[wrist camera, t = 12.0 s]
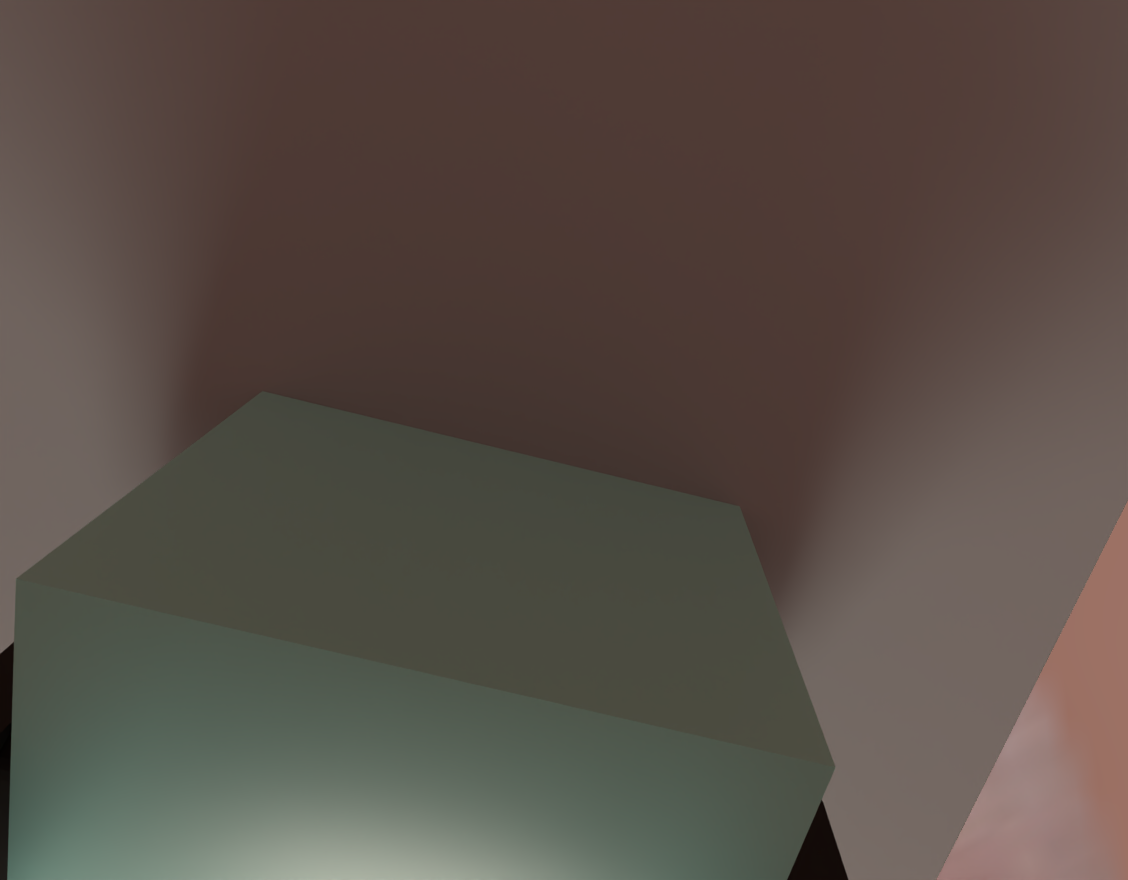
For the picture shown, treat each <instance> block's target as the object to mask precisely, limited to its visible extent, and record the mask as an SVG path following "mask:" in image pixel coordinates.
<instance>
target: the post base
mask: <svg viewBox="0 0 1128 880" xmlns="http://www.w3.org/2000/svg"><path fill="white" fill-rule="evenodd" d="M262 391H264V392H268V393H273V394H277V395H281V396H285V397H289V398H293V399H297V400H302V401H306V402H310V403H314V404H318V405H322V406H326V407H331V408H335V409H339V410H343V411H347V412H351V413H355V414H360V415H364V416H368V417H372V418H376V419H380V420H384V421H388V422H393V423H397V424H401V425H405V426H409V427H413V428H417V429H422V430H426V431H430V432H434V433H438V434H442V435H446V436H451V437H455V438H459V439H463V440H467V441H471V442H475V443H480V444H484V445H488V446H492V447H496V448H500V449H504V450H508V451H513V452H517V453H521V454H525V455H529V456H533V457H537V458H542V459H546V460H550V461H554V462H558V463H562V464H566V465H571V466H575V467H579V468H583V469H587V470H591V471H595V472H600V473H604V474H608V475H612V476H616V477H620V478H624V479H628V480H633V481H637V482H641V483H645V484H649V485H653V486H657V487H662V488H666V489H670V490H674V491H678V492H682V493H686V494H691V495H695V496H699V497H703V498H707V499H711V500H715V501H720V502H724V503H728V504H732V505H736V506H740V508H741V511H742V514H743V517H744V519H745V522H746V525H747V527H748V530H749V533H750V536H751V538H752V541H753V544H754V547H755V549H756V552H757V555H758V557H759V560H760V563H761V566H762V568H763V571H764V574H765V576H766V579H767V582H768V585H769V587H770V590H771V593H772V596H773V598H774V601H775V604H776V606H777V609H778V612H779V615H780V617H781V620H782V623H783V625H784V628H785V631H786V634H787V636H788V639H789V642H790V644H791V647H792V650H793V653H794V655H795V658H796V661H797V664H798V666H799V669H800V672H801V674H802V677H803V680H804V683H805V685H806V688H807V691H808V693H809V696H810V699H811V702H812V704H813V707H814V710H815V713H816V715H817V718H818V721H819V723H820V726H821V729H822V732H823V734H824V737H825V740H826V742H827V745H828V748H829V751H830V753H831V756H832V759H833V762H834V764H835V767H836V768H835V770H834V772H833V775H832V777H831V779H830V782H829V784H828V786H827V789H826V791H825V793H824V795H823V798H822V801H823V803H824V806H825V809H826V812H827V815H828V818H829V821H830V825H831V828H832V831H833V834H834V837H835V840H836V843H837V846H838V849H839V852H840V855H841V858H842V861H843V864H844V867H845V870H846V874H847V877H848V880H936V879H937V877H938V875H939V873H940V871H941V869H942V867H943V865H944V863H945V861H946V859H947V857H948V856H949V854H950V852H951V850H952V848H953V846H954V844H955V842H956V840H957V838H958V836H959V834H960V832H961V830H962V828H963V826H964V824H965V822H966V820H967V818H968V816H969V814H970V812H971V810H972V808H973V806H974V804H975V802H976V800H977V798H978V796H979V794H980V792H981V790H982V788H983V786H984V784H985V782H986V780H987V778H988V776H989V774H990V772H991V770H992V768H993V766H994V764H995V762H996V760H997V758H998V756H999V754H1000V752H1001V751H1002V749H1003V747H1004V745H1005V743H1006V741H1007V739H1008V737H1009V735H1010V733H1011V731H1012V729H1013V727H1014V725H1015V723H1016V721H1017V719H1018V717H1019V715H1020V713H1021V711H1022V709H1023V707H1024V705H1025V703H1026V701H1027V699H1028V697H1029V695H1030V693H1031V691H1032V689H1033V687H1034V685H1035V683H1036V681H1037V679H1038V677H1039V675H1040V673H1041V671H1042V669H1043V667H1044V665H1045V663H1046V661H1047V659H1048V657H1049V655H1050V653H1051V651H1052V649H1053V648H1054V645H1055V643H1056V642H1057V639H1058V637H1059V636H1060V634H1061V632H1062V629H1063V628H1064V626H1065V624H1066V622H1067V620H1068V618H1069V616H1070V614H1071V612H1072V610H1073V608H1074V606H1075V604H1076V602H1077V600H1078V598H1079V596H1080V594H1081V592H1082V590H1083V588H1084V586H1085V584H1086V582H1087V580H1088V578H1089V576H1090V574H1091V572H1092V570H1093V568H1094V566H1095V564H1096V562H1097V560H1098V558H1099V556H1100V554H1101V552H1102V550H1103V548H1104V546H1105V544H1106V543H1107V541H1108V538H1109V537H1110V535H1111V533H1112V531H1113V529H1114V526H1115V525H1116V523H1117V521H1118V519H1119V517H1120V515H1121V513H1122V511H1123V509H1124V507H1125V505H1126V503H1127V501H1128V0H0V653H2V652H3V651H4V650H5V649H6V648H7V647H9V646H10V645H11V644H12V643H13V642H14V627H15V592H16V578H18V577H19V576H20V575H22V574H23V573H24V572H25V571H27V570H28V569H29V568H31V567H32V566H33V565H35V564H36V563H37V562H39V561H40V560H41V559H43V558H44V557H45V556H46V555H48V554H49V553H50V552H52V551H53V550H54V549H56V548H57V547H58V546H60V545H61V544H62V543H64V542H65V541H66V540H68V539H69V538H70V537H71V536H73V535H74V534H75V533H77V532H78V531H79V530H81V529H82V528H83V527H85V526H86V525H87V524H89V523H90V522H91V521H92V520H94V519H95V518H96V517H98V516H99V515H100V514H102V513H103V512H104V511H106V510H107V509H108V508H110V507H111V506H112V505H113V504H115V503H116V502H117V501H119V500H120V499H121V498H123V497H124V496H125V495H127V494H128V493H129V492H131V491H132V490H133V489H134V488H136V487H137V486H138V485H140V484H141V483H142V482H144V481H145V480H146V479H148V478H149V477H150V476H152V475H153V474H154V473H155V472H157V471H158V470H159V469H161V468H162V467H163V466H165V465H166V464H167V463H169V462H170V461H171V460H173V459H174V458H175V457H177V456H178V455H179V454H180V453H182V452H183V451H184V450H186V449H187V448H188V447H190V446H191V445H192V444H194V443H195V442H196V441H198V440H199V439H200V438H201V437H203V436H204V435H205V434H207V433H208V432H209V431H211V430H212V429H213V428H215V427H216V426H217V425H219V424H220V423H221V422H222V421H224V420H225V419H226V418H228V417H229V416H230V415H232V414H233V413H234V412H236V411H237V410H238V409H240V408H241V407H242V406H243V405H245V404H246V403H247V402H249V401H250V400H251V399H253V398H254V397H255V396H257V395H258V394H259V393H261V392H262Z"/></svg>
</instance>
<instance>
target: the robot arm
mask: <svg viewBox="0 0 1128 880" xmlns="http://www.w3.org/2000/svg"><path fill="white" fill-rule="evenodd" d="M13 662H14V642H13V643H12V644H11V645H10V646H9V647H7V648H6V649H5V650H4V651H3V652H2V653H0V880H7V873H8V838H9V803H10V767H11V732H12V697H13ZM787 880H848V877H847V874H846V870H845V867H844V864H843V861H842V858H841V855H840V852H839V849H838V846H837V843H836V840H835V837H834V834H833V831H832V828H831V825H830V821H829V818H828V815H827V812H826V809H825V806H824V803H823V801H822V800H821V802H820V805H819V807H818V809H817V812H816V814H815V816H814V819H813V821H812V823H811V825H810V828H809V830H808V832H807V835H806V837H805V839H804V842H803V844H802V846H801V849H800V851H799V853H798V856H797V858H796V860H795V862H794V865H793V867H792V869H791V872H790V874H789V876H788V879H787Z"/></svg>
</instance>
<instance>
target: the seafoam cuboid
mask: <svg viewBox="0 0 1128 880" xmlns="http://www.w3.org/2000/svg"><path fill="white" fill-rule="evenodd" d="M835 768H836V767H835V764H834V762H833V759H832V756H831V753H830V751H829V748H828V745H827V742H826V740H825V737H824V734H823V732H822V729H821V726H820V723H819V721H818V718H817V715H816V713H815V710H814V707H813V704H812V702H811V699H810V696H809V693H808V691H807V688H806V685H805V683H804V680H803V677H802V674H801V672H800V669H799V666H798V664H797V661H796V658H795V655H794V653H793V650H792V647H791V644H790V642H789V639H788V636H787V634H786V631H785V628H784V625H783V623H782V620H781V617H780V615H779V612H778V609H777V606H776V604H775V601H774V598H773V596H772V593H771V590H770V587H769V585H768V582H767V579H766V576H765V574H764V571H763V568H762V566H761V563H760V560H759V557H758V555H757V552H756V549H755V547H754V544H753V541H752V538H751V536H750V533H749V530H748V527H747V525H746V522H745V519H744V517H743V514H742V511H741V508H740V506H736V505H732V504H728V503H724V502H720V501H715V500H711V499H707V498H703V497H699V496H695V495H691V494H686V493H682V492H678V491H674V490H670V489H666V488H662V487H657V486H653V485H649V484H645V483H641V482H637V481H633V480H628V479H624V478H620V477H616V476H612V475H608V474H604V473H600V472H595V471H591V470H587V469H583V468H579V467H575V466H571V465H566V464H562V463H558V462H554V461H550V460H546V459H542V458H537V457H533V456H529V455H525V454H521V453H517V452H513V451H508V450H504V449H500V448H496V447H492V446H488V445H484V444H480V443H475V442H471V441H467V440H463V439H459V438H455V437H451V436H446V435H442V434H438V433H434V432H430V431H426V430H422V429H417V428H413V427H409V426H405V425H401V424H397V423H393V422H388V421H384V420H380V419H376V418H372V417H368V416H364V415H360V414H355V413H351V412H347V411H343V410H339V409H335V408H331V407H326V406H322V405H318V404H314V403H310V402H306V401H302V400H297V399H293V398H289V397H285V396H281V395H277V394H273V393H268V392H264V391H262V392H261V393H259V394H258V395H257V396H255V397H254V398H253V399H251V400H250V401H249V402H247V403H246V404H245V405H243V406H242V407H241V408H240V409H238V410H237V411H236V412H234V413H233V414H232V415H230V416H229V417H228V418H226V419H225V420H224V421H222V422H221V423H220V424H219V425H217V426H216V427H215V428H213V429H212V430H211V431H209V432H208V433H207V434H205V435H204V436H203V437H201V438H200V439H199V440H198V441H196V442H195V443H194V444H192V445H191V446H190V447H188V448H187V449H186V450H184V451H183V452H182V453H180V454H179V455H178V456H177V457H175V458H174V459H173V460H171V461H170V462H169V463H167V464H166V465H165V466H163V467H162V468H161V469H159V470H158V471H157V472H155V473H154V474H153V475H152V476H150V477H149V478H148V479H146V480H145V481H144V482H142V483H141V484H140V485H138V486H137V487H136V488H134V489H133V490H132V491H131V492H129V493H128V494H127V495H125V496H124V497H123V498H121V499H120V500H119V501H117V502H116V503H115V504H113V505H112V506H111V507H110V508H108V509H107V510H106V511H104V512H103V513H102V514H100V515H99V516H98V517H96V518H95V519H94V520H92V521H91V522H90V523H89V524H87V525H86V526H85V527H83V528H82V529H81V530H79V531H78V532H77V533H75V534H74V535H73V536H71V537H70V538H69V539H68V540H66V541H65V542H64V543H62V544H61V545H60V546H58V547H57V548H56V549H54V550H53V551H52V552H50V553H49V554H48V555H46V556H45V557H44V558H43V559H41V560H40V561H39V562H37V563H36V564H35V565H33V566H32V567H31V568H29V569H28V570H27V571H25V572H24V573H23V574H22V575H20V576H19V577H18V578H16V592H15V627H14V662H13V697H12V732H11V767H10V803H9V838H8V873H7V880H787V879H788V876H789V874H790V872H791V869H792V867H793V865H794V862H795V860H796V858H797V856H798V853H799V851H800V849H801V846H802V844H803V842H804V839H805V837H806V835H807V832H808V830H809V828H810V825H811V823H812V821H813V819H814V816H815V814H816V812H817V809H818V807H819V805H820V802H821V800H822V798H823V795H824V793H825V791H826V789H827V786H828V784H829V782H830V779H831V777H832V775H833V772H834V770H835Z"/></svg>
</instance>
